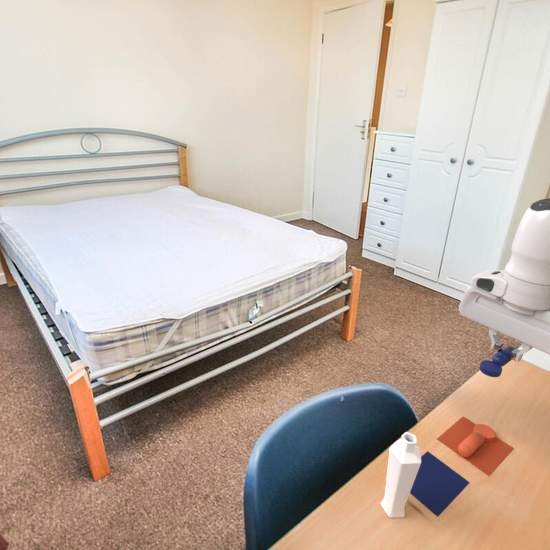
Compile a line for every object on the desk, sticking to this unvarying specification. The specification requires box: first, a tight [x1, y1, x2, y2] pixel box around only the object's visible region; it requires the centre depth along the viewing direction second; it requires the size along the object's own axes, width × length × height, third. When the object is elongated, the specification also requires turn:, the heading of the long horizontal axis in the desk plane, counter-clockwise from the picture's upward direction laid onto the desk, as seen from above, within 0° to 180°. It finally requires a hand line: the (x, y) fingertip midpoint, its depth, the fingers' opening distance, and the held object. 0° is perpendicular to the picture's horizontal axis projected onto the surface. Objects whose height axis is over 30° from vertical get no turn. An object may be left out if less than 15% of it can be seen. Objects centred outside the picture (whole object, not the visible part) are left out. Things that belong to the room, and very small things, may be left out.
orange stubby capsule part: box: [458, 423, 496, 457], centre depth 72 cm, size 11×4×2 cm, turn 128°
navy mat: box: [409, 450, 470, 518], centre depth 65 cm, size 10×8×1 cm
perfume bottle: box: [380, 431, 422, 519], centre depth 58 cm, size 5×4×15 cm
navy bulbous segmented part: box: [478, 345, 516, 378], centre depth 72 cm, size 11×4×2 cm, turn 127°
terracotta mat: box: [436, 415, 515, 477], centre depth 72 cm, size 10×10×1 cm
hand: (505, 354), depth 73 cm, fingers closed on navy bulbous segmented part, 2 cm apart
